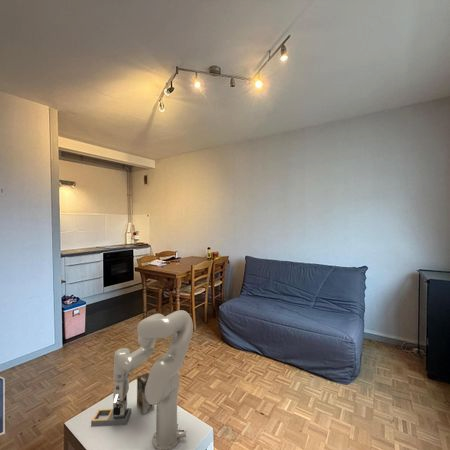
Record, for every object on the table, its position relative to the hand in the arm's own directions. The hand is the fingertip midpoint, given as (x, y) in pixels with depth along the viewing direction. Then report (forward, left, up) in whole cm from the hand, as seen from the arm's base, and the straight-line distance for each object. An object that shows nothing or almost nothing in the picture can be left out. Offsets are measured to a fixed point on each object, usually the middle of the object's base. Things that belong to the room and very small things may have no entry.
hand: (120, 407), depth 126 cm
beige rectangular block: (-1, 0, -6) cm, 6 cm away
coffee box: (-11, -7, -6) cm, 15 cm away
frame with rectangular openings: (+4, 0, -6) cm, 7 cm away
